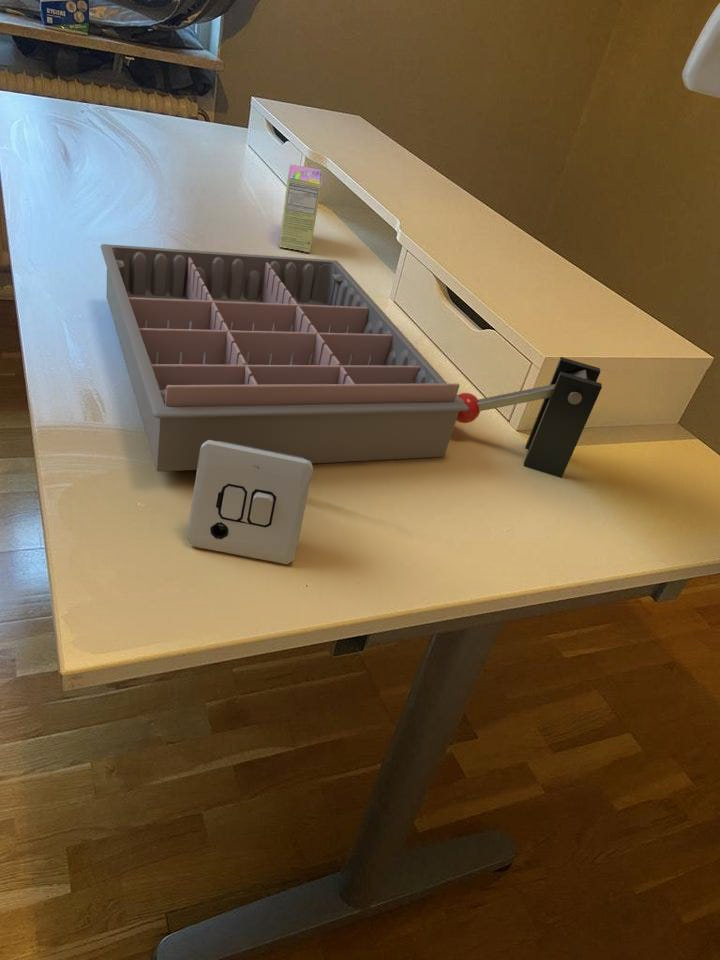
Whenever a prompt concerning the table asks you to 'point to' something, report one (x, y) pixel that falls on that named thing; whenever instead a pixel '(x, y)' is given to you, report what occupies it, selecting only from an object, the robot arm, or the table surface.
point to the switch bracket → (562, 418)
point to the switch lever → (505, 399)
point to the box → (300, 208)
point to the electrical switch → (248, 501)
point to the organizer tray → (270, 359)
